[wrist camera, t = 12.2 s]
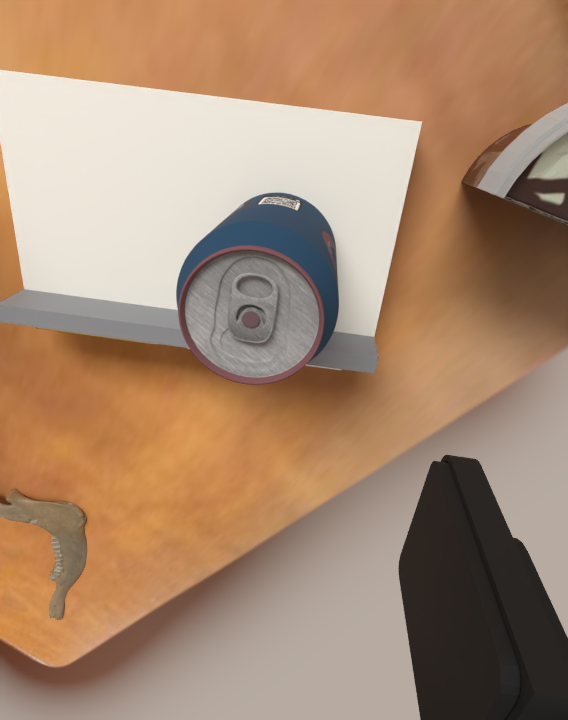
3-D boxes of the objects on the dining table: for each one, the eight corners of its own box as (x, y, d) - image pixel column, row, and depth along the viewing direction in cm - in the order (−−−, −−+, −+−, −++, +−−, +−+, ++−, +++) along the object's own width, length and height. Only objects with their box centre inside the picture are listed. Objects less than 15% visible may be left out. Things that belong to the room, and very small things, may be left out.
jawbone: (75, 472, 44) (66, 488, 42) (132, 607, 53) (126, 624, 51) (-14, 480, 44) (-27, 496, 42) (57, 612, 54) (49, 630, 52)
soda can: (324, 309, 30) (321, 410, 19) (220, 292, 30) (160, 382, 19) (346, 200, 27) (358, 247, 16) (229, 180, 27) (164, 214, 16)
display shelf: (412, 122, 27) (433, 120, 22) (366, 339, 34) (373, 379, 28) (21, 74, 28) (-52, 61, 22) (51, 296, 34) (0, 327, 29)
